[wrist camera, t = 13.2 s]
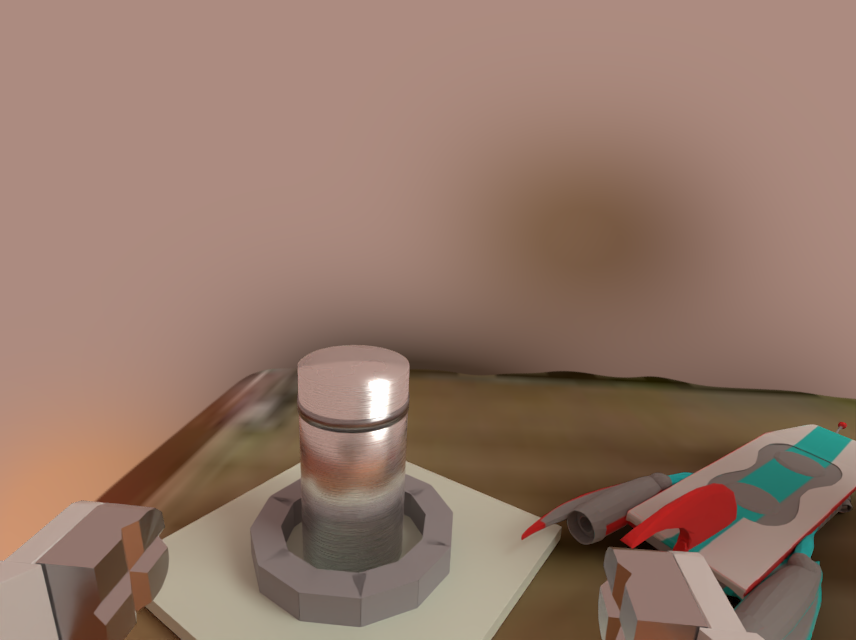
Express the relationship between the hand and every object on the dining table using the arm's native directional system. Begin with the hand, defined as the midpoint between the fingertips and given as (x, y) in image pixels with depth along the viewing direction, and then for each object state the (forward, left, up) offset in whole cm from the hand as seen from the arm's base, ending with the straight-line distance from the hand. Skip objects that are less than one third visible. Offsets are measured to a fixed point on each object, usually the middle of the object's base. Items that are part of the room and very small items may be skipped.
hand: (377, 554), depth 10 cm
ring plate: (-11, -10, -13) cm, 20 cm away
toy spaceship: (-27, +6, -13) cm, 30 cm away
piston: (-11, -10, -12) cm, 19 cm away
